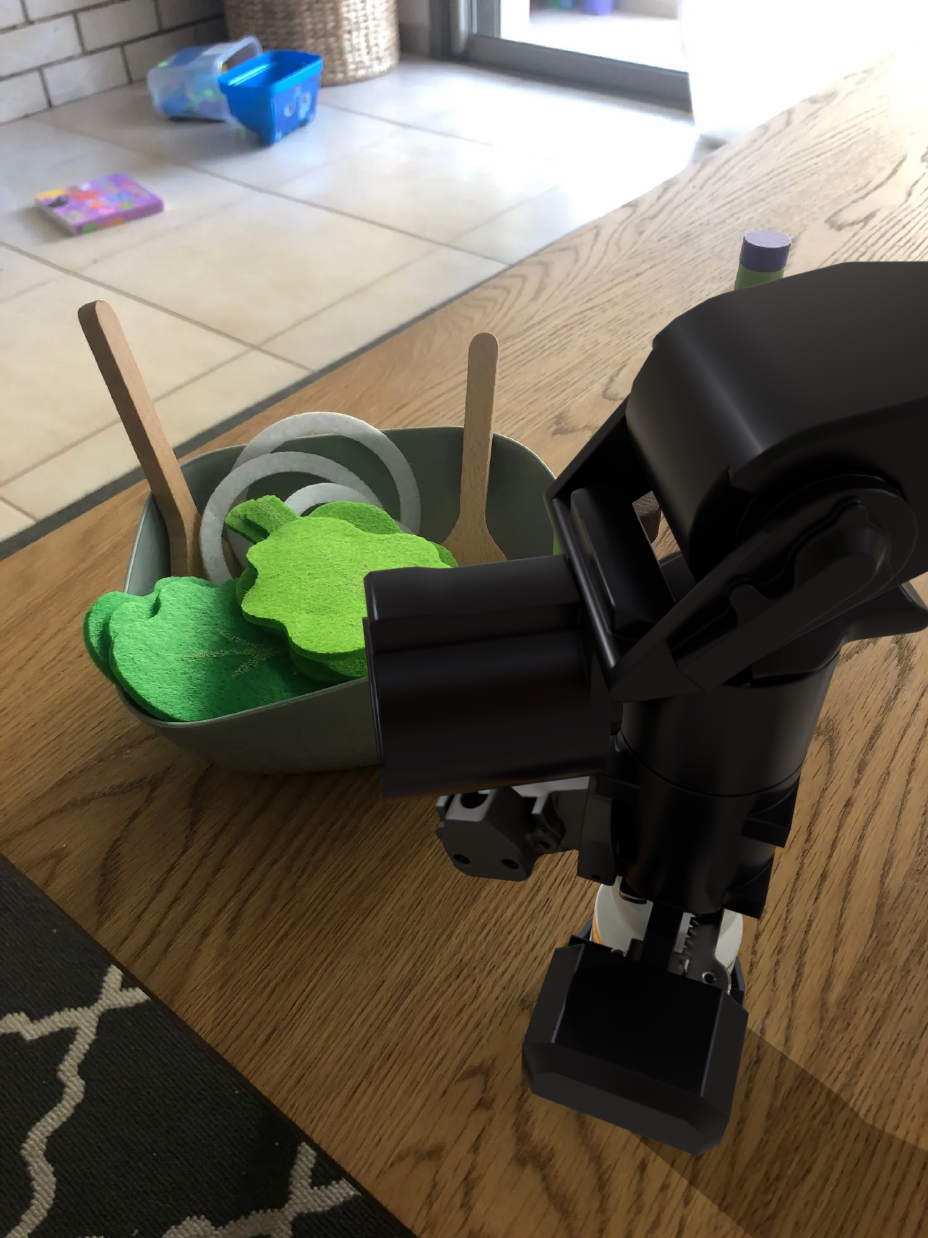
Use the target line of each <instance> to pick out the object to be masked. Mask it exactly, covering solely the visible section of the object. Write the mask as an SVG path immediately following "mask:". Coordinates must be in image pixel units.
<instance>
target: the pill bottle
mask: <svg viewBox="0 0 928 1238" xmlns="http://www.w3.org/2000/svg"><path fill="white" fill-rule="evenodd" d="M621 880H622V877H620V876H617V878H616V881H615V884H614V885H613V886H607V885H604V884H600V886H599V888H598V891H597V893H596V898H595V903H594V909H593V916H592V917H593V923H592V930H591V935H590V941H593V942H596V943H599V944H602V945H605V946H608V947H611V948H614V949H615V948H616V949H620V950H622V951H623V952H625V951H626V950H628V946H629V943H630V939H631V937H633V938H636V939H639V940H642V941H643V938H644V935H645V931H646V928H647V924H648V920H649V917H650V913H651V910H652V906H653V903H652V902H651V901H649V900H647V904H635V903H631V902H628V901H625V900H623V899H622V898H621V897H620V896H619V887H620V883H621ZM691 917H695V916H693V915H692V914H691V913H684V914H683V918H682V922H681V926H680V930H679V934H678V938H677V942H676V946H675V950H674V951H676V952H679V953H682V951H683V948H688V947H687V946H685V945H684V942H685V938H686V937H690V936H688V935H687V930H688V927H692V926H691V925H689V922H690V918H691ZM743 934H744V921H743V914H740V913H736V912H733V911H730V910H727V909H725V911H724V915H723V920H722V924H721V929H720V934H719V938H718V943H717V947H716V952H715V956H716V958H717V960H718V961H719V962H721V963H722V964H723V965H724V966H725V967H726V968H727V970H728V971H729V973H730V974H731V971H732V969H733V966H734V962H735V959H736V956H737V957H738V953H739V951H740V947H741V944H742V940H743ZM688 963H689V960H687V961H686V965H685V970H686V969H687V966H688Z"/></svg>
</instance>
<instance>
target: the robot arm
mask: <svg viewBox="0 0 928 1238" xmlns="http://www.w3.org/2000/svg"><path fill="white" fill-rule="evenodd" d="M651 348H652V349H651V351H650V352H649V354H648V356H647V357H646V359H645V361H644V362H643V364H642V366H641V367H640V368H639V371H638V372H637V374H636V375H635V377H634V379H633V381H632V384H631V388H630V392H629V393H628V394H627V396H626V397H625V398H624V399H623V400H622V402H620V404H619V405H618V406H617V407H616V408H615V409H614V410H613V412H612V413H611V414H610V416H609V417H608V418H606V420H605V421H604V422H603V424H602V425H601V426H600V427H599V428H598V429H597V431H596V432H594V434H593V435H592V436H591V437H590V438H589V439H588V441H586V444H585V445H583V447H582V448H581V449H580V451H578V453H577V454H576V455H575V456H574V457H573V459H572V460H571V461H570V462H569V463H568V464H567V466H565V468H564V469H563V470H562V471H561V473H560V474H558V476H557V477H556V478H555V479H554V481H553V482H552V483H551V484H550V485H549V486H548V487H547V489H546V490H545V491H544V493H543V495H542V500H543V504H544V506H545V508H546V512H547V515H548V518H549V521H550V524H551V527H552V530H553V545H552V546H553V547H552V549H553V550H552V555H544V556H536V557H527V558H526V557H525V558H518V559H511V560H503V561H502V560H501V561H495V562H486V563H485V562H484V563H477V564H470V565H469V564H468V565H460V566H453V567H430V566H418V565H417V566H402V567H395V568H386V569H385V568H384V569H377V570H371V571H368V572H367V574H365V575H364V577H363V579H362V583H363V590H364V597H365V599H364V600H365V608H366V616H362V617H361V623H362V632H363V640H364V641H363V642H364V651H365V657H366V668H367V669H366V670H367V676H368V688H369V695H370V704H371V713H372V723H373V732H374V741H375V742H374V743H375V750H376V760H377V767H378V775H379V782H380V789H381V795H382V796H381V797H382V801H383V805H388V804H395V803H403V802H410V801H416V800H424V799H425V800H426V799H431V798H432V799H433V798H437V800H436V802H435V805H434V808H435V811H437V814H438V817H439V822H438V823H437V824H438V825H437V827H436V828H435V830H434V833H435V835H436V837H437V838H438V839H439V841H441V844H442V847H443V849H444V851H445V852H446V854H447V856H448V858H449V860H450V862H451V863H452V865H453V867H454V868H455V869H456V870H457V871H459V872H461V873H463V874H464V875H466V876H469V877H471V878H480V879H490V880H499V881H507V882H516V883H520V882H525V881H526V880H528V879H529V878H530V877H531V876H532V874H533V872H534V868H535V867H536V863H537V861H538V860H539V859H540V858H541V857H543V856H545V855H554V854H557V853H565V852H570V851H573V850H574V851H578V853H577V864H576V865H577V866H576V877H578V878H581V879H584V880H588V881H591V882H595V883H597V884H600V885H601V884H604V885H607V886H613V885H614V884H615V881H616V878H617V876H620V877H622V880H621V883H620V887H619V896H620V897H621V898H622V899H623V900H625V901H628V902H631V903H635V904H647V900H649V901H651V902H652V903H653V906H652V910H651V913H650V917H649V920H648V924H647V928H646V931H645V935H644V938H643V941H642V940H639V939H636V938H633V937H631V939H630V943H629V946H628V950H626V951H625V952H623V951H622V950H620V949H616V948H615V949H614V948H611V947H608V946H605V945H602V944H599V943H596V942H593V941H590V940H587V939H584V938H581V937H578V936H577V935H575V934H570V936H569V939H568V943H567V945H566V946H560V947H555V948H554V950H553V952H552V957H551V959H550V962H549V965H548V968H547V971H546V973H545V977H544V980H543V983H542V985H541V988H540V991H539V994H538V997H537V999H536V1003H535V1006H534V1009H533V1012H532V1015H531V1018H530V1020H529V1023H528V1026H527V1029H526V1032H525V1034H524V1038H523V1041H522V1044H521V1061H520V1062H521V1067H520V1071H521V1073H522V1075H523V1077H524V1079H525V1081H526V1083H527V1085H528V1087H529V1090H530V1092H531V1094H532V1095H534V1096H537V1097H539V1098H542V1099H545V1100H546V1101H547V1100H548V1101H551V1102H552V1103H556V1104H558V1105H559V1106H560V1105H561V1106H563V1107H566V1108H568V1109H571V1110H574V1111H577V1112H579V1113H582V1114H585V1115H587V1116H589V1117H592V1118H595V1119H597V1120H600V1121H603V1122H605V1123H609V1124H611V1125H613V1126H615V1127H619V1128H621V1129H623V1130H626V1131H629V1132H632V1133H634V1134H637V1135H639V1136H642V1137H644V1138H647V1139H651V1140H653V1141H656V1142H658V1143H661V1144H664V1145H666V1146H668V1147H671V1148H674V1149H676V1150H679V1151H682V1152H684V1153H687V1154H689V1155H692V1156H695V1157H699V1156H700V1155H702V1154H704V1153H706V1152H708V1151H711V1150H712V1149H714V1148H715V1147H718V1146H719V1145H720V1144H721V1142H722V1139H723V1137H724V1135H725V1132H726V1130H727V1128H728V1125H729V1123H730V1118H731V1113H732V1109H733V1103H734V1097H735V1093H736V1087H737V1082H738V1077H739V1071H740V1065H741V1059H742V1054H743V1049H744V1043H745V1040H746V1039H745V1038H746V1034H747V1033H746V1032H747V1027H748V1022H749V1017H750V1012H749V1011H748V1010H746V1009H745V1007H742V1005H743V1000H744V1001H745V999H744V994H745V995H746V992H744V991H742V990H739V989H736V988H733V987H731V976H730V973H729V971H728V970H727V968H726V967H725V966H724V965H723V964H722V963H721V962H719V961H718V960H717V958H716V956H715V952H716V947H717V943H718V938H719V934H720V929H721V924H722V920H723V915H724V911H725V909H727V910H730V911H733V912H736V913H740V914H742V916H746V917H750V918H753V919H756V920H759V921H760V920H761V918H762V914H763V913H764V909H765V907H766V903H767V898H768V892H769V887H770V882H771V876H772V871H773V867H774V866H773V865H774V861H775V855H776V849H777V847H778V848H781V849H785V848H786V845H787V842H788V839H789V836H790V832H791V830H792V826H793V820H794V814H795V809H796V804H797V798H798V793H799V787H800V782H801V777H802V776H801V775H802V770H803V767H804V765H805V761H806V758H807V755H808V752H809V749H810V746H811V743H812V739H813V738H814V737H813V736H814V735H815V734H814V733H815V731H816V730H815V729H816V728H817V725H818V723H819V722H818V721H819V719H820V715H821V713H822V710H823V707H824V703H825V700H826V697H827V694H828V693H829V688H830V685H831V682H832V679H833V676H834V674H835V670H836V667H837V664H838V661H839V659H840V655H841V653H842V649H843V646H844V647H845V646H846V645H847V644H849V643H852V642H857V641H861V640H870V639H878V638H885V637H894V636H900V635H901V636H902V635H908V634H917V633H920V632H923V631H924V630H926V629H928V606H927V604H926V602H925V601H924V600H923V598H922V597H921V595H920V594H919V592H918V591H917V590H916V588H915V586H914V585H913V584H912V583H911V581H913V580H914V579H916V578H918V577H920V576H922V575H924V574H926V573H928V260H894V261H893V260H885V261H884V260H876V261H875V260H874V261H873V260H871V261H869V260H867V261H864V260H863V261H860V260H859V261H856V260H855V261H844V262H839V263H836V264H831V265H827V266H823V267H819V268H815V269H812V270H807V271H804V272H800V273H796V274H792V275H788V276H784V277H780V278H776V279H773V280H768V281H765V282H764V281H763V282H760V283H756V284H752V285H749V286H744V287H741V288H737V289H734V290H728V291H726V292H724V293H720V294H717V295H713V296H712V297H709V298H706V299H705V300H703V301H702V302H700V303H698V304H696V305H695V306H693V307H691V308H689V309H688V310H686V311H684V312H683V313H681V314H679V315H678V316H675V317H674V318H673V319H672V320H671V321H670V322H669V323H668V324H667V325H665V326H664V327H663V328H662V329H661V330H660V331H659V332H658V333H657V334H655V336H654V337H653V339H652V342H651ZM650 493H653V494H652V495H653V496H654V498H655V500H656V503H657V504H658V506H659V508H660V511H661V513H662V515H663V517H664V519H665V521H666V523H667V525H668V527H669V529H670V532H671V534H672V536H673V538H674V540H675V542H676V545H677V546H678V549H679V550H677V551H674V552H671V553H668V554H666V555H665V556H662V557H661V558H660V559H658V557H657V554H656V552H655V550H654V547H653V545H652V543H651V541H650V538H649V536H648V534H647V532H646V529H645V528H644V527H645V526H644V525H643V522H642V521H641V518H640V516H639V514H638V512H637V509H636V506H635V504H634V503H635V502H637V501H638V500H639V499H641V498H643V497H644V496H646V495H648V494H650ZM684 913H691V914H692V915H693V916H695V917H691V918H690V922H689V925H691V926H692V927H688V930H687V935H688V936H690V937H686V938H685V942H684V945H685V946H687V947H688V948H683V951H682V953H679V952H676V951H674V950H675V946H676V942H677V938H678V934H679V930H680V926H681V922H682V918H683V914H684ZM687 960H689V963H688V966H687V969H686V970H685V965H686V961H687Z"/></svg>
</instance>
